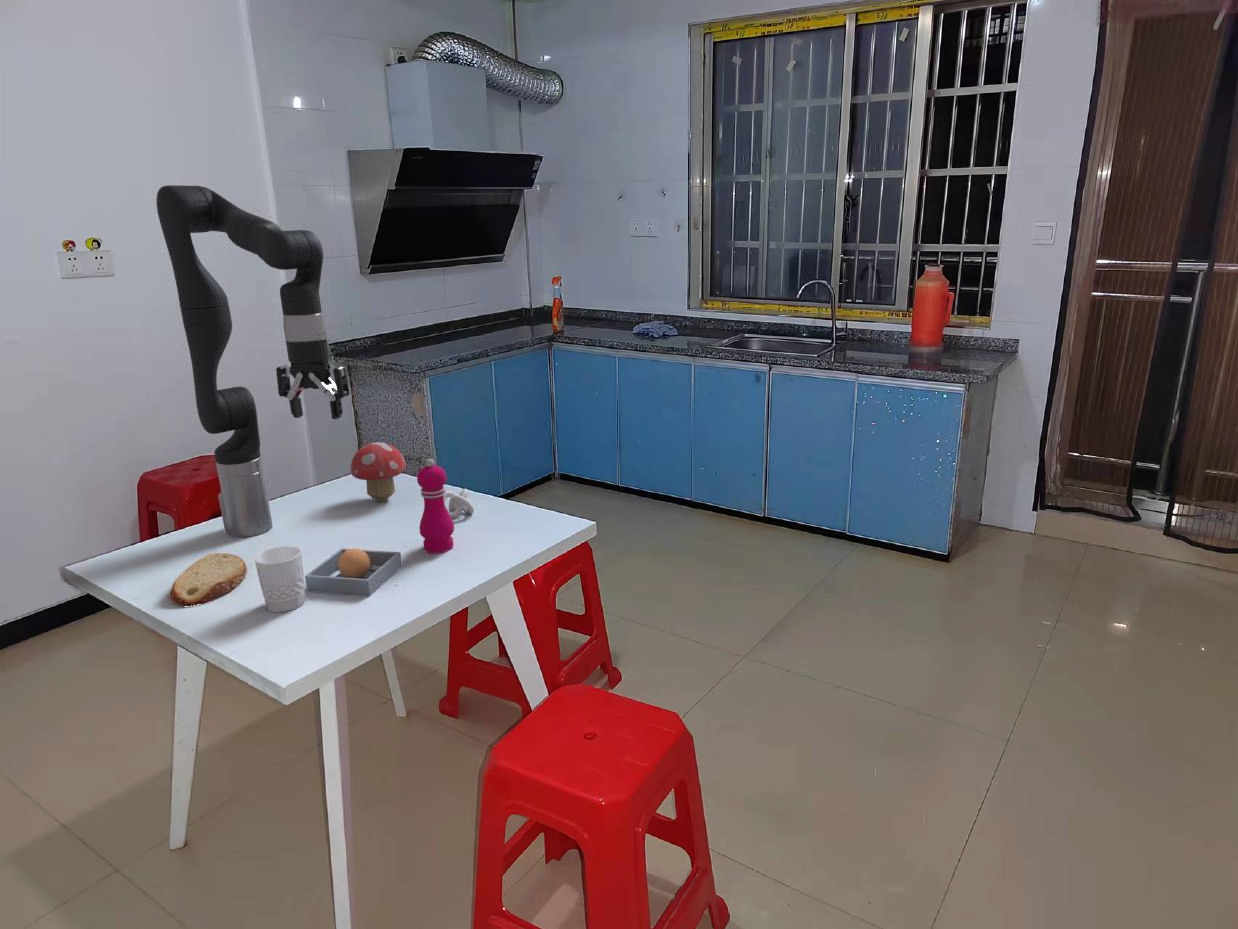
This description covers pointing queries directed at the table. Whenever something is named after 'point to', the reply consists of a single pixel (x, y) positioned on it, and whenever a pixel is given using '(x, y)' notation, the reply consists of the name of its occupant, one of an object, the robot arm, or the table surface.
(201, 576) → the slice of bread
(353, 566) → the ball
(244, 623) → the table surface
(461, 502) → the knot
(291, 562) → the white cup
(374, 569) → the pad
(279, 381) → the robot arm
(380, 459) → the decorative mushroom
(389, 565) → the corral
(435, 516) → the pepper mill
